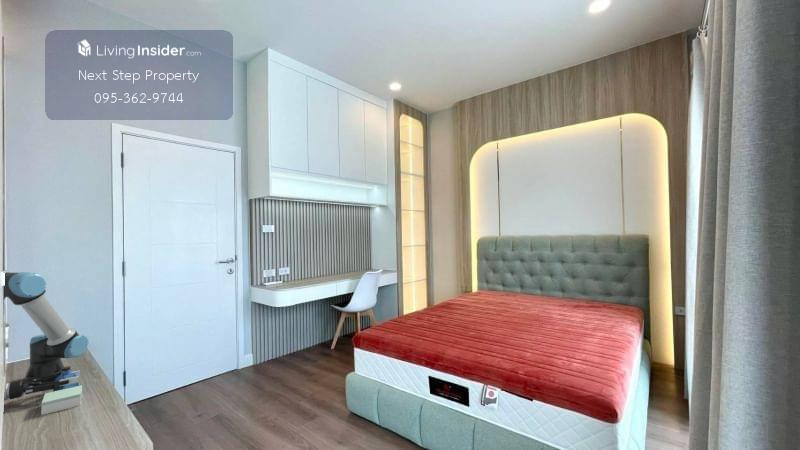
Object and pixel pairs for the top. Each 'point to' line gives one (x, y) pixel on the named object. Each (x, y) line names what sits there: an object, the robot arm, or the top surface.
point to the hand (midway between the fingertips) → (79, 376)
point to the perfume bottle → (66, 375)
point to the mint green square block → (61, 400)
